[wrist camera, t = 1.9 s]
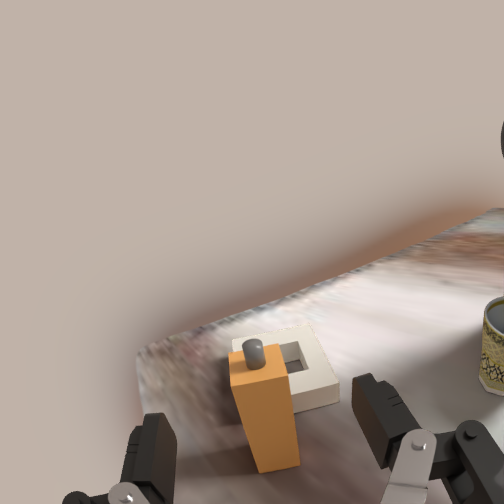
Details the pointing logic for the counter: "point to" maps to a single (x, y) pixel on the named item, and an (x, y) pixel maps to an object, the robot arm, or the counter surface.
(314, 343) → the socket
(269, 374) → the plug
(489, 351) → the olive green flower pot
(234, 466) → the counter surface
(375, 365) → the counter surface
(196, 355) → the counter surface
